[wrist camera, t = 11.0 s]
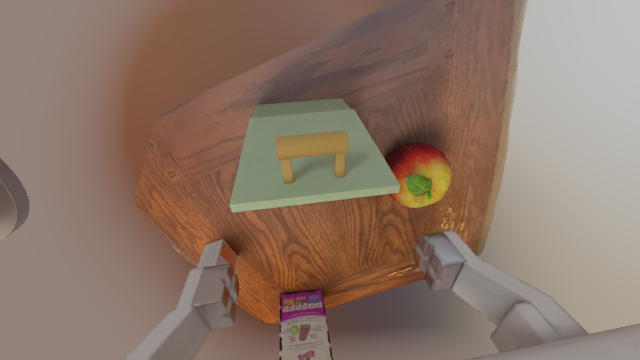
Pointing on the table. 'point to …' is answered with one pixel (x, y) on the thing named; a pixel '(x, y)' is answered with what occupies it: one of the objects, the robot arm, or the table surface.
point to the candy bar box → (304, 327)
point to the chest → (300, 107)
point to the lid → (308, 161)
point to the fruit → (420, 174)
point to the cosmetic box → (217, 255)
